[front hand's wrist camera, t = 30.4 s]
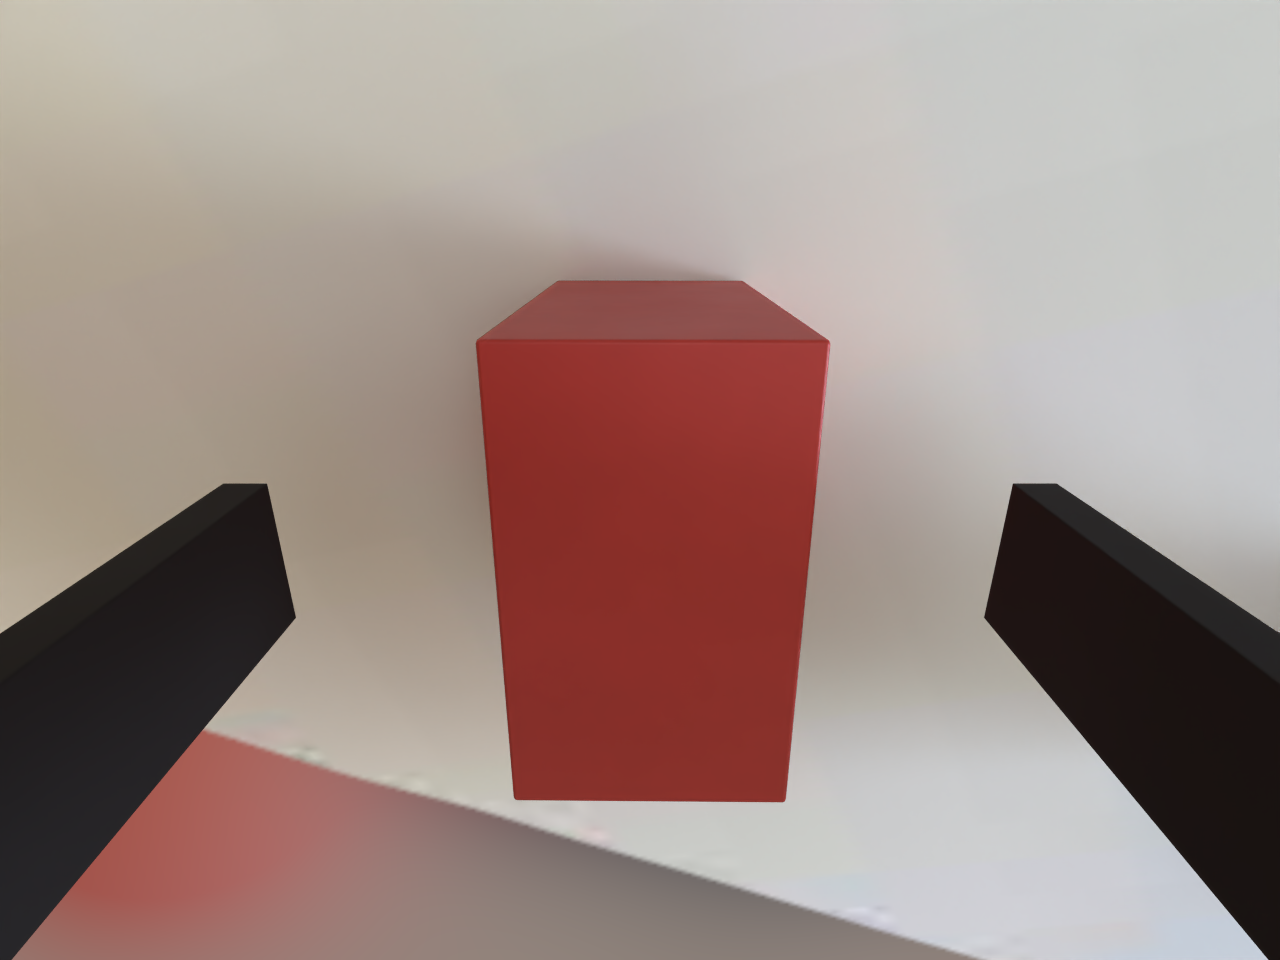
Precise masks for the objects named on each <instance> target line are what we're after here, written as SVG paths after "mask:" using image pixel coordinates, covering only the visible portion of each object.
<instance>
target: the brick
mask: <svg viewBox="0 0 1280 960" xmlns="http://www.w3.org/2000/svg"><path fill="white" fill-rule="evenodd" d="M476 351H477V363H478V375H479V387H480V399H481V411H482V423H483V435H484V447H485V458H486V470H487V482H488V494H489V506H490V518H491V530H492V542H493V554H494V566H495V578H496V590H497V601H498V613H499V625H500V637H501V649H502V661H503V673H504V685H505V697H506V709H507V721H508V733H509V744H510V756H511V768H512V780H513V792H514V798H515V799H516V800H574V801H699V802H784V801H785V799H786V791H787V781H788V770H789V760H790V750H791V740H792V730H793V719H794V709H795V699H796V689H797V679H798V668H799V658H800V648H801V638H802V627H803V617H804V607H805V597H806V587H807V576H808V566H809V556H810V546H811V536H812V525H813V515H814V505H815V495H816V485H817V474H818V464H819V454H820V444H821V433H822V423H823V413H824V403H825V393H826V382H827V372H828V362H829V352H830V342H829V340H827V339H826V338H824V337H823V336H822V335H820V334H819V333H817V332H816V331H814V330H813V329H811V328H810V327H808V326H807V325H806V324H804V323H803V322H801V321H800V320H798V319H797V318H795V317H794V316H792V315H791V314H790V313H788V312H787V311H785V310H784V309H782V308H781V307H779V306H778V305H777V304H775V303H774V302H772V301H771V300H769V299H768V298H766V297H765V296H763V295H762V294H761V293H759V292H758V291H756V290H755V289H753V288H752V287H750V286H749V285H748V284H746V283H745V282H743V281H557V282H556V283H554V284H553V285H552V286H550V287H549V288H547V289H546V290H545V291H543V292H542V293H541V294H539V295H538V296H537V297H535V298H534V299H532V300H531V301H530V302H528V303H527V304H526V305H524V306H523V307H521V308H520V309H519V310H517V311H516V312H515V313H513V314H512V315H511V316H509V317H508V318H506V319H505V320H504V321H502V322H501V323H500V324H498V325H497V326H496V327H494V328H493V329H491V330H490V331H489V332H487V333H486V334H485V335H483V336H482V337H480V338H479V339H478V340H477V342H476Z"/></svg>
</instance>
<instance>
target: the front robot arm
mask: <svg viewBox="0 0 1280 960" xmlns="http://www.w3.org/2000/svg"><path fill="white" fill-rule="evenodd" d="M295 618H296V616H295V611H294V607H293V602H292V597H291V593H290V588H289V584H288V579H287V574H286V570H285V565H284V560H283V556H282V551H281V546H280V542H279V537H278V532H277V528H276V523H275V519H274V514H273V509H272V505H271V500H270V495H269V491H268V486H267V484H222V485H221V486H219V487H218V488H216V489H215V490H213V491H212V492H210V493H209V494H207V495H206V496H204V497H203V498H201V499H200V500H198V501H197V502H195V503H194V504H192V505H191V506H189V507H188V508H186V509H185V510H184V511H182V512H181V513H179V514H178V515H176V516H175V517H173V518H172V519H170V520H169V521H167V522H166V523H164V524H163V525H161V526H160V527H158V528H157V529H155V530H154V531H152V532H151V533H149V534H148V535H146V536H145V537H143V538H142V539H140V540H139V541H137V542H136V543H134V544H133V545H131V546H130V547H128V548H127V549H125V550H124V551H123V552H121V553H120V554H118V555H117V556H115V557H114V558H112V559H111V560H109V561H108V562H106V563H105V564H103V565H102V566H100V567H99V568H97V569H96V570H94V571H93V572H91V573H90V574H88V575H87V576H85V577H84V578H82V579H81V580H79V581H78V582H76V583H75V584H73V585H72V586H70V587H69V588H67V589H66V590H64V591H63V592H62V593H60V594H59V595H57V596H56V597H54V598H53V599H51V600H50V601H48V602H47V603H45V604H44V605H42V606H41V607H39V608H38V609H36V610H35V611H33V612H32V613H30V614H29V615H27V616H26V617H24V618H23V619H21V620H20V621H18V622H17V623H15V624H14V625H12V626H11V627H9V628H8V629H6V630H5V631H3V632H2V633H1V634H0V960H12V959H13V957H14V956H15V955H16V954H17V952H18V951H19V950H20V949H21V948H22V947H23V945H24V944H25V943H26V942H27V940H28V939H29V938H30V937H31V936H32V934H33V933H34V932H35V931H36V930H37V928H38V927H39V926H40V925H41V924H42V922H43V921H44V920H45V919H46V918H47V916H48V915H49V914H50V913H51V912H52V910H53V909H54V908H55V907H56V906H57V904H58V903H59V902H60V901H61V900H62V898H63V897H64V896H65V895H66V894H67V892H68V891H69V890H70V889H71V888H72V886H73V885H74V884H75V883H76V881H77V880H78V879H79V878H80V877H81V876H82V874H83V873H84V872H85V871H86V869H87V868H88V867H89V866H90V865H91V863H92V862H93V861H94V860H95V859H96V857H97V856H98V855H99V854H100V853H101V851H102V850H103V849H104V848H105V847H106V845H107V844H108V843H109V842H110V841H111V839H112V838H113V837H114V836H115V835H116V833H117V832H118V831H119V830H120V829H121V827H122V826H123V825H124V824H125V823H126V821H127V820H128V819H129V818H130V817H131V815H132V814H133V813H134V812H135V811H136V809H137V808H138V807H139V806H140V805H141V803H142V802H143V801H144V800H145V799H146V797H147V796H148V795H149V794H150V793H151V791H152V790H153V789H154V788H155V786H156V785H157V784H158V783H159V782H160V780H161V779H162V778H163V777H164V776H165V774H166V773H167V772H168V771H169V770H170V768H171V767H172V766H173V765H174V764H175V762H176V761H177V760H178V759H179V758H180V756H181V755H182V754H183V753H184V752H185V750H186V749H187V748H188V747H189V746H190V744H191V743H192V742H193V741H194V740H195V738H196V737H197V736H198V735H199V734H200V732H201V731H202V730H203V729H204V728H205V726H206V725H207V724H208V723H209V722H210V720H211V719H212V718H213V717H214V716H215V714H216V713H217V712H218V711H219V710H220V708H221V707H222V706H223V705H224V704H225V702H226V701H227V700H228V699H229V697H230V696H231V695H232V694H233V693H234V691H235V690H236V689H237V688H238V687H239V685H240V684H241V683H242V682H243V681H244V679H245V678H246V677H247V676H248V675H249V673H250V672H251V671H252V670H253V669H254V667H255V666H256V665H257V664H258V663H259V661H260V660H261V659H262V658H263V657H264V655H265V654H266V653H267V652H268V651H269V649H270V648H271V647H272V646H273V645H274V643H275V642H276V641H277V640H278V639H279V637H280V636H281V635H282V634H283V633H284V631H285V630H286V629H287V628H288V627H289V625H290V624H291V623H292V622H293V621H294V619H295ZM984 618H985V619H986V621H987V622H988V623H989V624H990V625H991V627H992V628H993V629H994V630H995V631H996V633H997V634H998V635H999V636H1000V637H1001V639H1002V640H1003V641H1004V642H1005V643H1006V645H1007V646H1008V647H1009V648H1010V649H1011V651H1012V652H1013V653H1014V654H1015V655H1016V657H1017V658H1018V659H1019V660H1020V661H1021V663H1022V664H1023V665H1024V666H1025V667H1026V669H1027V670H1028V671H1029V672H1030V673H1031V675H1032V676H1033V677H1034V678H1035V679H1036V681H1037V682H1038V683H1039V684H1040V685H1041V687H1042V688H1043V689H1044V690H1045V691H1046V693H1047V694H1048V695H1049V696H1050V697H1051V699H1052V700H1053V701H1054V702H1055V704H1056V705H1057V706H1058V707H1059V708H1060V710H1061V711H1062V712H1063V713H1064V714H1065V716H1066V717H1067V718H1068V719H1069V720H1070V722H1071V723H1072V724H1073V725H1074V726H1075V728H1076V729H1077V730H1078V731H1079V732H1080V734H1081V735H1082V736H1083V737H1084V738H1085V740H1086V741H1087V742H1088V743H1089V744H1090V746H1091V747H1092V748H1093V749H1094V750H1095V752H1096V753H1097V754H1098V755H1099V756H1100V758H1101V759H1102V760H1103V761H1104V762H1105V764H1106V765H1107V766H1108V767H1109V768H1110V770H1111V771H1112V772H1113V773H1114V774H1115V776H1116V777H1117V778H1118V779H1119V780H1120V782H1121V783H1122V784H1123V785H1124V787H1125V788H1126V789H1127V790H1128V791H1129V793H1130V794H1131V795H1132V796H1133V797H1134V799H1135V800H1136V801H1137V802H1138V803H1139V805H1140V806H1141V807H1142V808H1143V809H1144V811H1145V812H1146V813H1147V814H1148V815H1149V817H1150V818H1151V819H1152V820H1153V821H1154V823H1155V824H1156V825H1157V826H1158V827H1159V829H1160V830H1161V831H1162V832H1163V833H1164V835H1165V836H1166V837H1167V838H1168V839H1169V841H1170V842H1171V843H1172V844H1173V845H1174V847H1175V848H1176V849H1177V850H1178V851H1179V853H1180V854H1181V855H1182V856H1183V857H1184V859H1185V860H1186V861H1187V862H1188V864H1189V865H1190V866H1191V867H1192V868H1193V870H1194V871H1195V872H1196V873H1197V874H1198V876H1199V877H1200V878H1201V879H1202V880H1203V882H1204V883H1205V884H1206V885H1207V886H1208V888H1209V889H1210V890H1211V891H1212V892H1213V894H1214V895H1215V896H1216V897H1217V898H1218V900H1219V901H1220V902H1221V903H1222V904H1223V906H1224V907H1225V908H1226V909H1227V910H1228V912H1229V913H1230V914H1231V915H1232V916H1233V918H1234V919H1235V920H1236V921H1237V922H1238V924H1239V925H1240V926H1241V927H1242V928H1243V930H1244V931H1245V932H1246V933H1247V934H1248V936H1249V937H1250V938H1251V939H1252V940H1253V942H1254V943H1255V944H1256V945H1257V947H1258V948H1259V949H1260V950H1261V951H1262V953H1263V954H1264V955H1265V956H1266V957H1267V959H1268V960H1280V633H1279V632H1277V631H1275V630H1274V629H1272V628H1271V627H1269V626H1268V625H1266V624H1265V623H1263V622H1262V621H1260V620H1259V619H1257V618H1256V617H1254V616H1253V615H1251V614H1250V613H1248V612H1247V611H1245V610H1244V609H1242V608H1241V607H1239V606H1238V605H1236V604H1235V603H1233V602H1232V601H1230V600H1229V599H1227V598H1226V597H1224V596H1223V595H1221V594H1220V593H1218V592H1217V591H1216V590H1214V589H1213V588H1211V587H1210V586H1208V585H1207V584H1205V583H1204V582H1202V581H1201V580H1199V579H1198V578H1196V577H1195V576H1193V575H1192V574H1190V573H1189V572H1187V571H1186V570H1184V569H1183V568H1181V567H1180V566H1178V565H1177V564H1175V563H1174V562H1172V561H1171V560H1169V559H1168V558H1166V557H1165V556H1163V555H1162V554H1160V553H1159V552H1157V551H1156V550H1155V549H1153V548H1152V547H1150V546H1149V545H1147V544H1146V543H1144V542H1143V541H1141V540H1140V539H1138V538H1137V537H1135V536H1134V535H1132V534H1131V533H1129V532H1128V531H1126V530H1125V529H1123V528H1122V527H1120V526H1119V525H1117V524H1116V523H1114V522H1113V521H1111V520H1110V519H1108V518H1107V517H1105V516H1104V515H1102V514H1101V513H1099V512H1098V511H1096V510H1095V509H1094V508H1092V507H1091V506H1089V505H1088V504H1086V503H1085V502H1083V501H1082V500H1080V499H1079V498H1077V497H1076V496H1074V495H1073V494H1071V493H1070V492H1068V491H1067V490H1065V489H1064V488H1062V487H1061V486H1059V485H1058V484H1013V486H1012V491H1011V495H1010V500H1009V505H1008V509H1007V514H1006V519H1005V523H1004V528H1003V532H1002V537H1001V542H1000V546H999V551H998V556H997V560H996V565H995V570H994V574H993V579H992V584H991V588H990V593H989V597H988V602H987V607H986V611H985V616H984Z"/></svg>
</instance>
